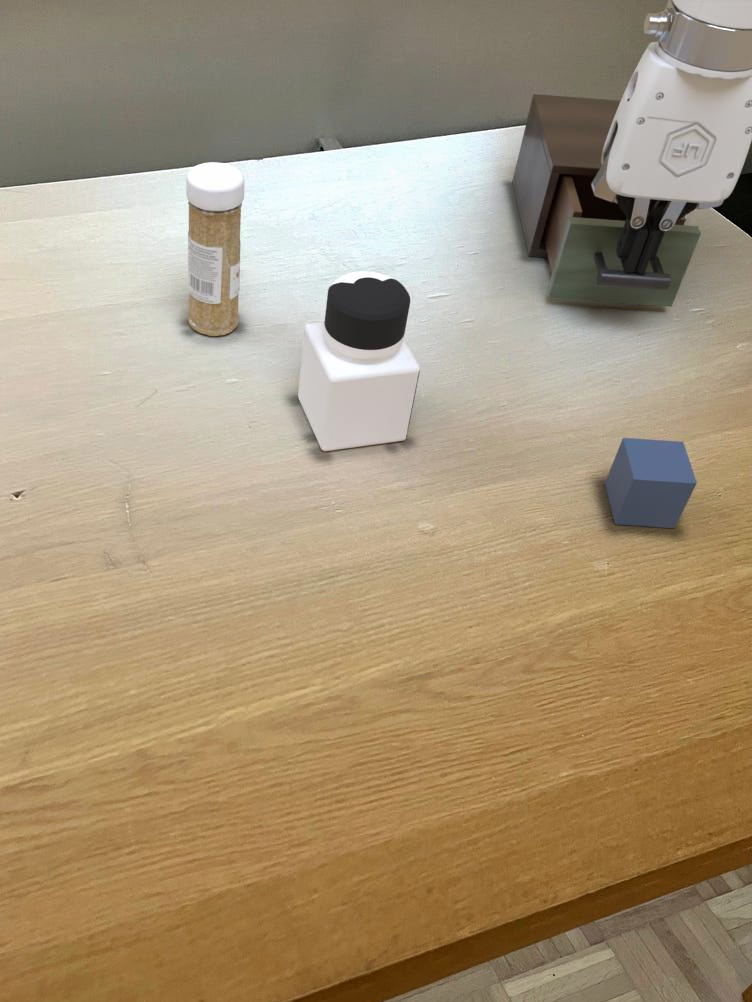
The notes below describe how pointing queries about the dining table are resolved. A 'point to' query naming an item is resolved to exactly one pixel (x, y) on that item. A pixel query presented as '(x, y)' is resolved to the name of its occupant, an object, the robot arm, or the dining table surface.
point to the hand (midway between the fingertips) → (631, 264)
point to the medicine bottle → (359, 364)
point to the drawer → (607, 250)
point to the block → (649, 483)
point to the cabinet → (557, 155)
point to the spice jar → (214, 246)
